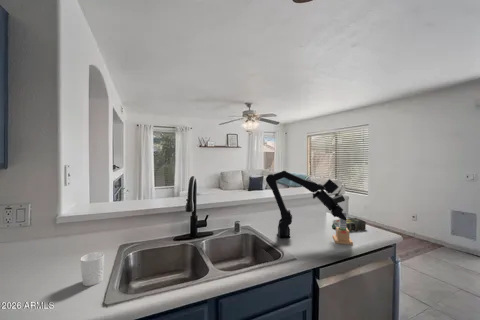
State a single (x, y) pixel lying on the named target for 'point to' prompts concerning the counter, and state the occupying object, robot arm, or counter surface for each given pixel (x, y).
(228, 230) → the counter surface
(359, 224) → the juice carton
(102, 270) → the white cup
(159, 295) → the counter surface
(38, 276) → the counter surface
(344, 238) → the jack stand base
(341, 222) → the jack stand column
